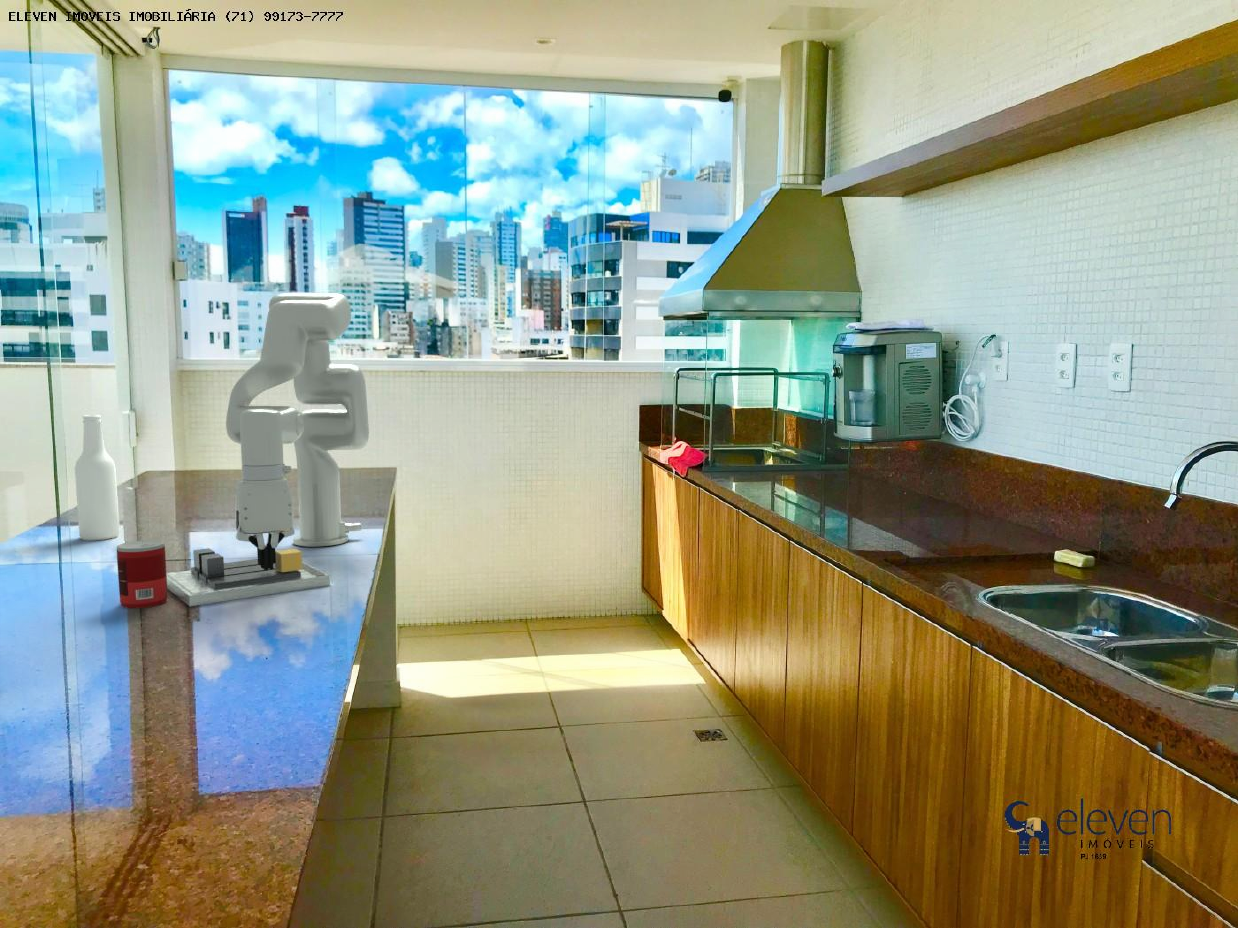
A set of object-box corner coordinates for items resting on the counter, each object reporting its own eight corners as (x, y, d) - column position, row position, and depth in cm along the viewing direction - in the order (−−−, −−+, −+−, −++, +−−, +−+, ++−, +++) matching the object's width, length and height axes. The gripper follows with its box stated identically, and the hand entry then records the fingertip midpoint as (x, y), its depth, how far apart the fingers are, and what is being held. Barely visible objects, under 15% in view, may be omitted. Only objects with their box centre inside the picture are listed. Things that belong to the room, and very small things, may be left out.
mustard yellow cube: (295, 565, 195) (294, 548, 195) (302, 569, 192) (301, 551, 191) (275, 568, 193) (274, 551, 192) (281, 572, 189) (281, 554, 189)
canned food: (177, 599, 182) (174, 541, 181) (143, 610, 175) (140, 549, 173) (144, 596, 185) (141, 538, 183) (110, 606, 177) (106, 546, 176)
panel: (293, 566, 210) (292, 536, 209) (330, 585, 193) (328, 552, 192) (162, 584, 194) (160, 551, 193) (189, 606, 177) (187, 571, 177)
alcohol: (71, 539, 239) (62, 416, 235) (102, 532, 247) (94, 413, 243) (97, 542, 236) (89, 417, 232) (128, 535, 244) (120, 414, 240)
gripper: (296, 469, 195) (299, 560, 197) (217, 474, 186) (221, 569, 188) (308, 472, 189) (312, 566, 191) (227, 478, 180) (232, 576, 182)
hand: (267, 567), depth 190 cm, fingers closed
